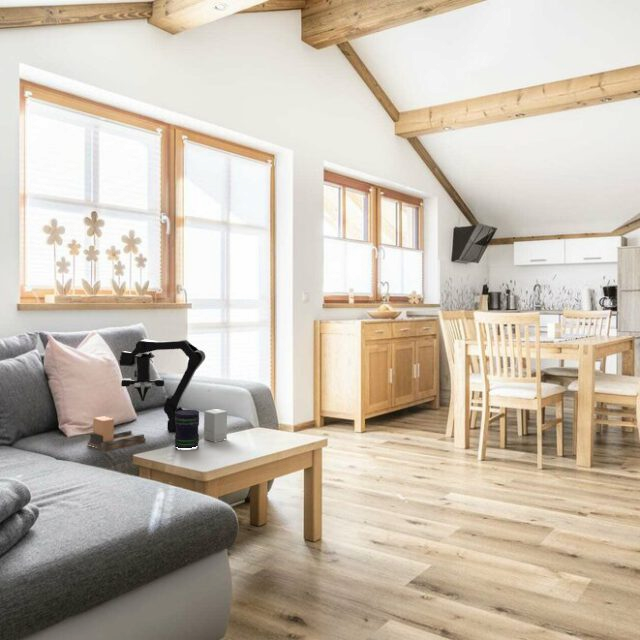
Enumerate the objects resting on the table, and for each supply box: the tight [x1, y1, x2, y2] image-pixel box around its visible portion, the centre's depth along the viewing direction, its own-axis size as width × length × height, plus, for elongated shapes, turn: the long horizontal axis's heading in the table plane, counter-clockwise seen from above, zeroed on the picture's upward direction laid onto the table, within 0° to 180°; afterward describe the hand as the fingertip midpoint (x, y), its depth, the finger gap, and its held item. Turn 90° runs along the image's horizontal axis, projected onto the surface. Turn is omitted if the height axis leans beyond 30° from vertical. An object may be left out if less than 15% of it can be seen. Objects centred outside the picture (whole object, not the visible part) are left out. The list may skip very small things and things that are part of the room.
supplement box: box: [203, 408, 228, 442], centre depth 284 cm, size 7×7×13 cm
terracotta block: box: [92, 415, 115, 442], centre depth 267 cm, size 5×7×10 cm
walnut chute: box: [87, 429, 147, 452], centre depth 273 cm, size 20×12×6 cm, turn 141°
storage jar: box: [174, 409, 200, 448], centre depth 270 cm, size 10×10×15 cm
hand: (142, 401), depth 297 cm, fingers closed
